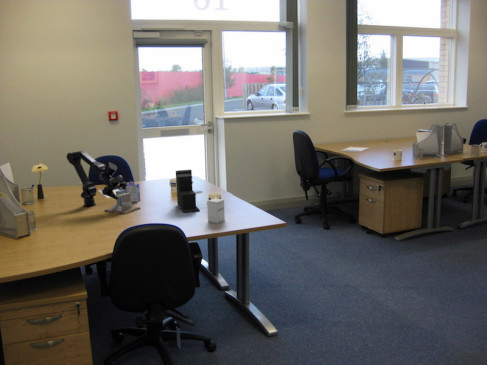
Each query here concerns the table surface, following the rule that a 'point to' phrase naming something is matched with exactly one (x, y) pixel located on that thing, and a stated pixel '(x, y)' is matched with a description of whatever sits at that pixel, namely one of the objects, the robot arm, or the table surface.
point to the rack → (123, 205)
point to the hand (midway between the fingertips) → (122, 197)
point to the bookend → (185, 191)
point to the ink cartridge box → (133, 191)
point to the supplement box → (215, 210)
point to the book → (119, 196)
